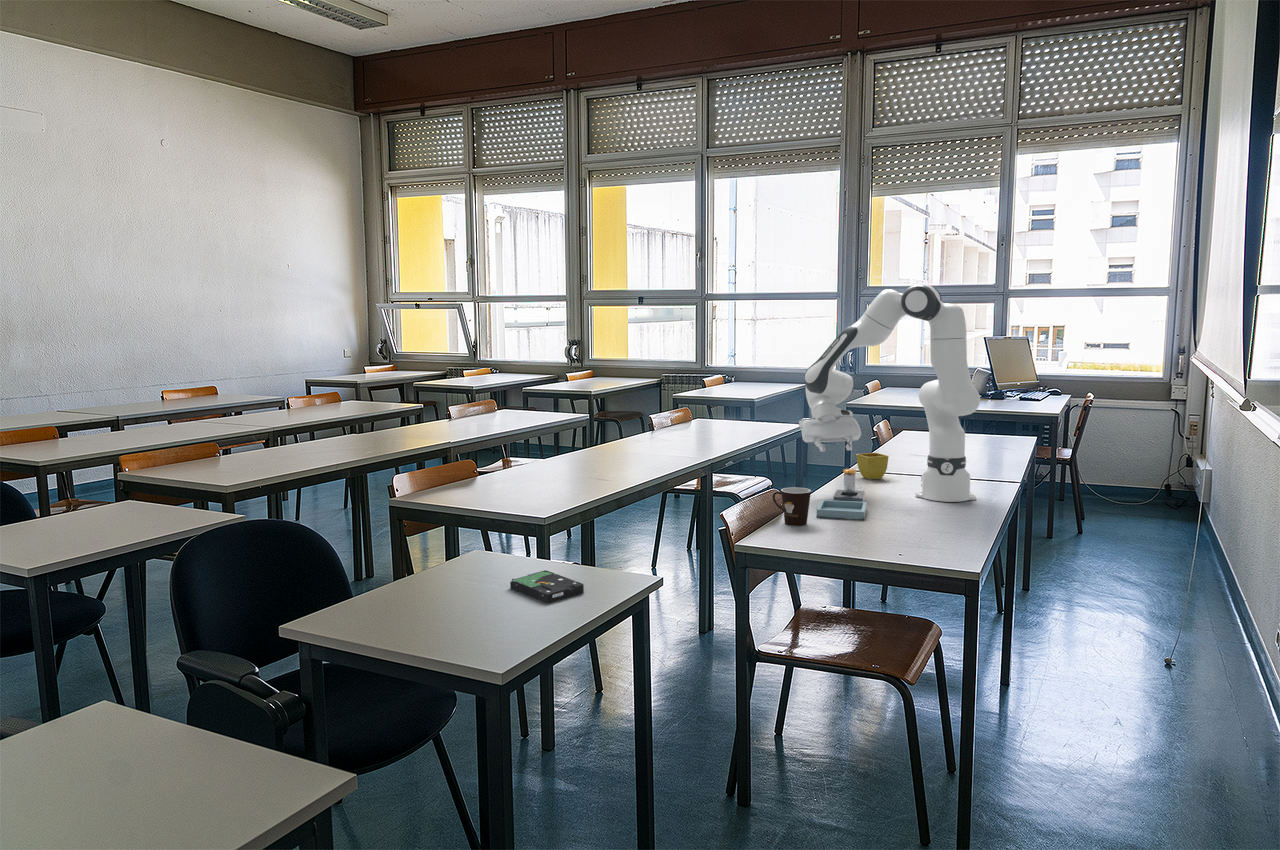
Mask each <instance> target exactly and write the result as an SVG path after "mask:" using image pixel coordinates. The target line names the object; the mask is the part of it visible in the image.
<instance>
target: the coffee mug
mask: <svg viewBox="0 0 1280 850" xmlns="http://www.w3.org/2000/svg"><path fill="white" fill-rule="evenodd" d="M811 494H812V490H811V489H809V488H806V487H784V488H782V489H781V490H780V491H775V492H774V493H773V494H772V500H773V502H774V505H776V506H777V507H778V509H780V510H781V511H782V512H783V518H784V519H783V520H784V524H785V525H787V526H789V527H803V525H804V526H807V524H808V517H809V516H808V515H809V507H810V502H811V501H810V499H811ZM776 495H780V496H781V500H782V501H781V502H782V506H781V505H780V504H779V503H778V502H777V500H776V499H775V497H776Z"/></svg>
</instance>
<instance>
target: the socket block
mask: <svg viewBox="0 0 1280 850" xmlns="http://www.w3.org/2000/svg"><path fill="white" fill-rule="evenodd" d="M865 493H866V491H865V490H856V489H855V496H850V495H844V489H836V491H835V494H834V495H833V500H834V501H854V502H865V498H866V497H865V496H866V494H865Z"/></svg>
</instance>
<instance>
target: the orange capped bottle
mask: <svg viewBox="0 0 1280 850" xmlns="http://www.w3.org/2000/svg"><path fill="white" fill-rule="evenodd" d="M842 471H843V490H844V495H850V496H855V490H856V474H857V469H855V468H844V469H843V470H842Z"/></svg>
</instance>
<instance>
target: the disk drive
mask: <svg viewBox="0 0 1280 850" xmlns="http://www.w3.org/2000/svg"><path fill="white" fill-rule="evenodd" d="M509 583H510V584H509V586H510V589H511V590H513V591H515V592H518V593H520V594H523V595H525V596H528V597H530V598H533V599H534V600H538V601H539V602H542V603H545V604H552V603H554V602H558V601H560V600H561V601H562V600H565V599H569V598H572V597H575V596H579V595H581V594H582V595H583V594H585V593H584V592H585V589H584V588H585V586H584V585H585V584H584V583H582V582H580V581H578V580H575V579H571V578H568V577H565V576H563V575H560V574H557V573H555V572H553V571H549V570H541V571H538V572H534V573H529V574H527V575H525V576H520V577H518V578H511V581H509Z"/></svg>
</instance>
